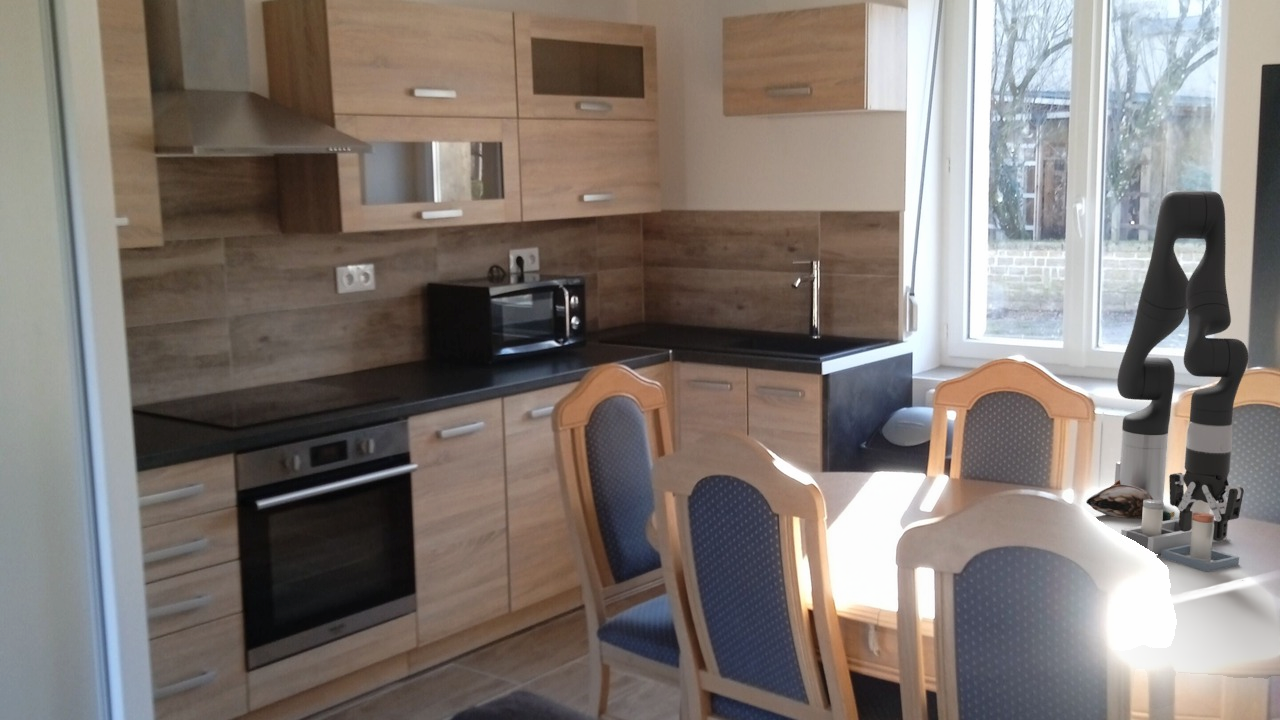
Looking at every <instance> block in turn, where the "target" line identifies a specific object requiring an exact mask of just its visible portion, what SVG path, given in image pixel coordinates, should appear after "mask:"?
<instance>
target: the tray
mask: <svg viewBox="0 0 1280 720" xmlns="http://www.w3.org/2000/svg"><path fill="white" fill-rule="evenodd" d="M1188 554H1189V555H1190V544H1188V545H1183V546H1178V547H1174V548H1169V549H1164V550H1162V554H1161V556H1160V557H1161V558H1162V559H1164V560H1166V561H1167V560H1168V561H1171V562H1174V563H1178V564H1181V565H1184V566H1187V567H1191V568H1193V569H1196V570H1198V571H1199V570H1200V571H1203V572H1206V573H1210V572H1214V571H1215V572H1216V571H1218V570H1222V569H1228V568H1231V567H1237V566H1240V557H1239V556H1236V555H1233V554H1229V553H1226V552H1222V551H1219V550H1215V549H1213V548H1212V551H1211V560H1212V559H1213V561H1211V562H1208V563H1207V562H1204V561H1201V560H1197V559H1194V558H1191V557H1190V556H1187V555H1188Z"/></svg>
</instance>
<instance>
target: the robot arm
mask: <svg viewBox="0 0 1280 720" xmlns="http://www.w3.org/2000/svg"><path fill="white" fill-rule="evenodd" d="M1160 203H1161V204H1160V208H1159V212H1158V215H1157V216H1158V217H1157V221H1156V222H1157V223H1156V227H1155V233H1154V240H1153V246H1152V252H1151V257H1150V260H1149V264H1148V267H1147V272H1146V275H1145V279H1144V282H1143V285H1142V288H1141V292H1140V297H1139V300H1138V306H1137V309H1136V315H1135V318H1134V323H1133V327H1132V329H1131V330H1132V331H1131V334H1130V338H1129V340H1128V343H1127V346H1126V348H1125V350H1124V354H1123V356H1122V360H1121V363H1120V366H1119V369H1118V374H1117V382H1116V383H1117V391H1118V393H1119V395H1120V396H1121V397H1122V398H1124V399H1128V400H1135V401H1136V400H1138V401H1151V402H1150V404H1149V405H1147V406H1146V407H1144V408H1143V409H1141V410H1138V411H1136V412H1132V413H1129V414H1126V415H1125V416H1124V417H1123V419H1122V427H1121V428H1122V429H1121V442H1120V443H1121V445H1120V458H1119V461H1117V462H1116V463H1115V472H1114V473H1115V474H1114V484H1115V483H1116V482H1117V481H1119V480H1120V484H1124V485H1131V486H1135V487H1138V488H1140V489H1143V490H1145V491H1146V492H1147V493H1149V495H1150V496H1151V497H1152V498H1153V500H1159V501H1162V502H1164V495H1165V481H1166V466H1167V451H1168V440H1169V439H1168V437H1169V426H1170V420H1171V412H1172V403H1173V396H1174V395H1173V394H1174V388H1175V381H1176V380H1175V379H1176V378H1175V374H1176V372H1175V366H1174V364H1173V362H1172V360H1171V359H1169V358H1168V357H1159V356H1158V357H1156V356H1155V357H1153V356H1151V357H1150V356H1149V354H1150V353H1151V351H1152V350H1153V349H1155V347H1156V346H1157V345H1158V344H1160V343H1161V342H1162V341H1163V340H1165V339H1166V338H1167V337H1169V335H1171V334H1172V333H1174V331H1175V330H1176V329H1178V327H1180V325H1182V323H1183V321H1184V319H1185V317H1186V314H1187V316H1188V332H1187V333H1188V334H1187V340H1186V344H1185V349H1184V354H1183V365H1184V367H1185V369H1186V371H1187V372H1188V373H1189V374H1190V375H1192V376H1194V377H1200V378H1201V377H1202V378H1203V377H1204V378H1205V377H1207V378H1208V377H1210V378H1220V379H1219V381H1218V382H1217V383H1216V384H1215V385H1214V386H1211V387H1206V388H1200V389H1197V390H1195V391H1193V393H1192V394H1191V399H1190V412H1189V413H1190V414H1189V423H1188V427H1187V433H1186V444H1185V457H1184V470H1185V473H1184V474H1183V473H1182V472H1177V473H1172V474H1170V475H1169V482H1168V483H1169V504H1170V505H1171V506H1173V507H1176V508H1177V509H1178V511H1179V515H1178V516H1179V517H1178V518H1179V527H1180V530H1181V531H1184V532H1186V531H1190V530H1191V523H1192V511H1190V509H1192V507H1193V505H1194V504H1195V502H1196V501H1198V500H1202V501H1204V502H1206V503H1208V504H1209V507H1210V511H1212V513H1213V515H1214V520H1216V521H1214V533H1213V540H1215V541H1221V540H1223V539H1224V538H1225V537H1226V535H1227V536H1228V530H1227V524H1228V522H1229V521H1234V520H1236V519H1239V517H1240V514H1241V508H1242V502H1243V498H1244V492H1245V491H1244V488H1243V487H1241V486H1240V487H1239V486H1238V487H1235V486H1232V485H1230V483H1229V481H1228V477H1229V474H1230V469H1231V468H1230V467H1231V459H1232V458H1231V457H1232V444H1233V425H1232V424H1233V413H1234V411H1233V410H1234V404H1235V398H1236V396H1237V392H1238V389H1239V387H1240V384H1241V381H1242V379H1243V376H1244V374H1245V373H1246V369H1247V367H1248V363H1249V352H1248V351H1249V350H1248V348H1247V345H1246V344H1245V343H1244V342H1243V341H1242V340H1241V339H1237V338H1220V337H1219V338H1218V337H1217V338H1216V337H1212V338H1211V337H1207V336H1213V335H1216V334H1220V333H1222V332H1224V331H1226V330H1227V329H1228V328H1229V327H1230V326H1231V323H1232V317H1231V309H1230V304H1229V298H1228V292H1227V284H1226V245H1227V244H1226V243H1227V242H1226V210H1225V204H1224V200H1223V198H1222V196H1221V194H1220V193H1218V192H1216V191H1211V190H1171V191H1168V192H1167V193H1166V194H1165V195H1163V198H1162V200H1161V202H1160ZM1178 239H1184V240H1185V239H1188V240H1189V239H1192V240H1193V239H1194V240H1195V239H1196V240H1205V241H1204V242H1205V249H1204V253H1203V256H1202V258H1201V259H1200V261H1199V263H1198V264H1197V266H1196V268H1195V270H1194V271H1193V272H1192V274H1191V276H1190V278H1189V279H1188V277H1187V275H1186V273H1185V271H1184V269H1183V268H1182V266H1181V265H1180V263H1179V260H1178V257H1177V255H1176V252H1175V243H1176V241H1177V240H1178ZM1184 485H1185V487H1186V490H1184V488H1185V487H1184ZM1184 491H1185V492H1184ZM1225 493H1226V496H1225ZM1226 497H1227V500H1226ZM1217 502H1218V503H1217Z"/></svg>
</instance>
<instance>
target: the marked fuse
mask: <svg viewBox="0 0 1280 720" xmlns="http://www.w3.org/2000/svg"><path fill="white" fill-rule="evenodd" d="M1214 520H1215V516H1214V514H1212V513H1203V512H1195V513H1193V518H1192V531H1191V544H1190V553H1189V557H1191V558H1194V559H1197V560H1201V561H1204V562H1207V563H1208V562H1212V561H1211V560H1212V558H1211V551H1212V549H1213V544H1212V538H1213V525H1214Z"/></svg>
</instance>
